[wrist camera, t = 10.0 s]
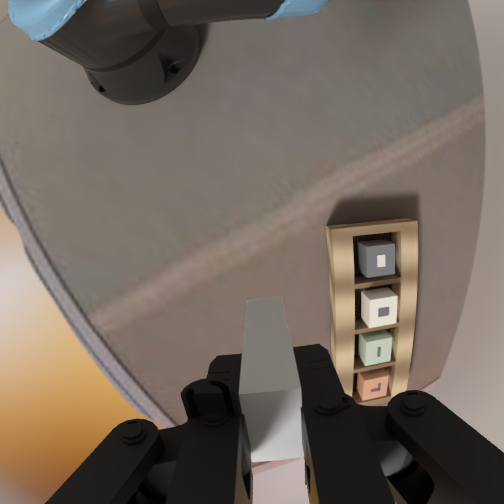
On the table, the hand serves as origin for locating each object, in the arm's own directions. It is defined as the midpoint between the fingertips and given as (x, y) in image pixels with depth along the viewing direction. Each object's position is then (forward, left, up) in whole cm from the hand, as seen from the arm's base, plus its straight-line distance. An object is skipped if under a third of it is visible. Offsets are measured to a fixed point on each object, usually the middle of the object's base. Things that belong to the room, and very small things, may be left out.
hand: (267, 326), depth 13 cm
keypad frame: (+13, +13, -24) cm, 30 cm away
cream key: (+10, +13, -23) cm, 28 cm away
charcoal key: (+4, +13, -24) cm, 27 cm away
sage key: (+16, +13, -24) cm, 31 cm away
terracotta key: (+22, +13, -24) cm, 35 cm away
